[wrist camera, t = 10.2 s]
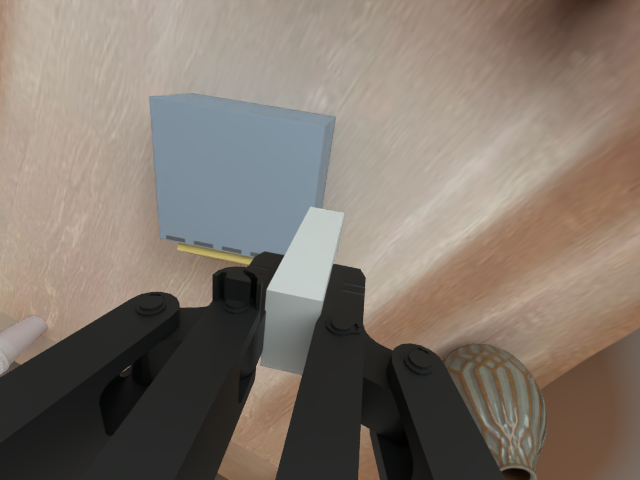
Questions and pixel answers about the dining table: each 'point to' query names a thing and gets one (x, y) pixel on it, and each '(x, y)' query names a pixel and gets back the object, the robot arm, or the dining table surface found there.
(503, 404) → the vase
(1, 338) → the smoothie
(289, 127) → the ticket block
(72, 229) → the dining table surface
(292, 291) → the robot arm
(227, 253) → the yellow rectangular panel
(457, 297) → the dining table surface
